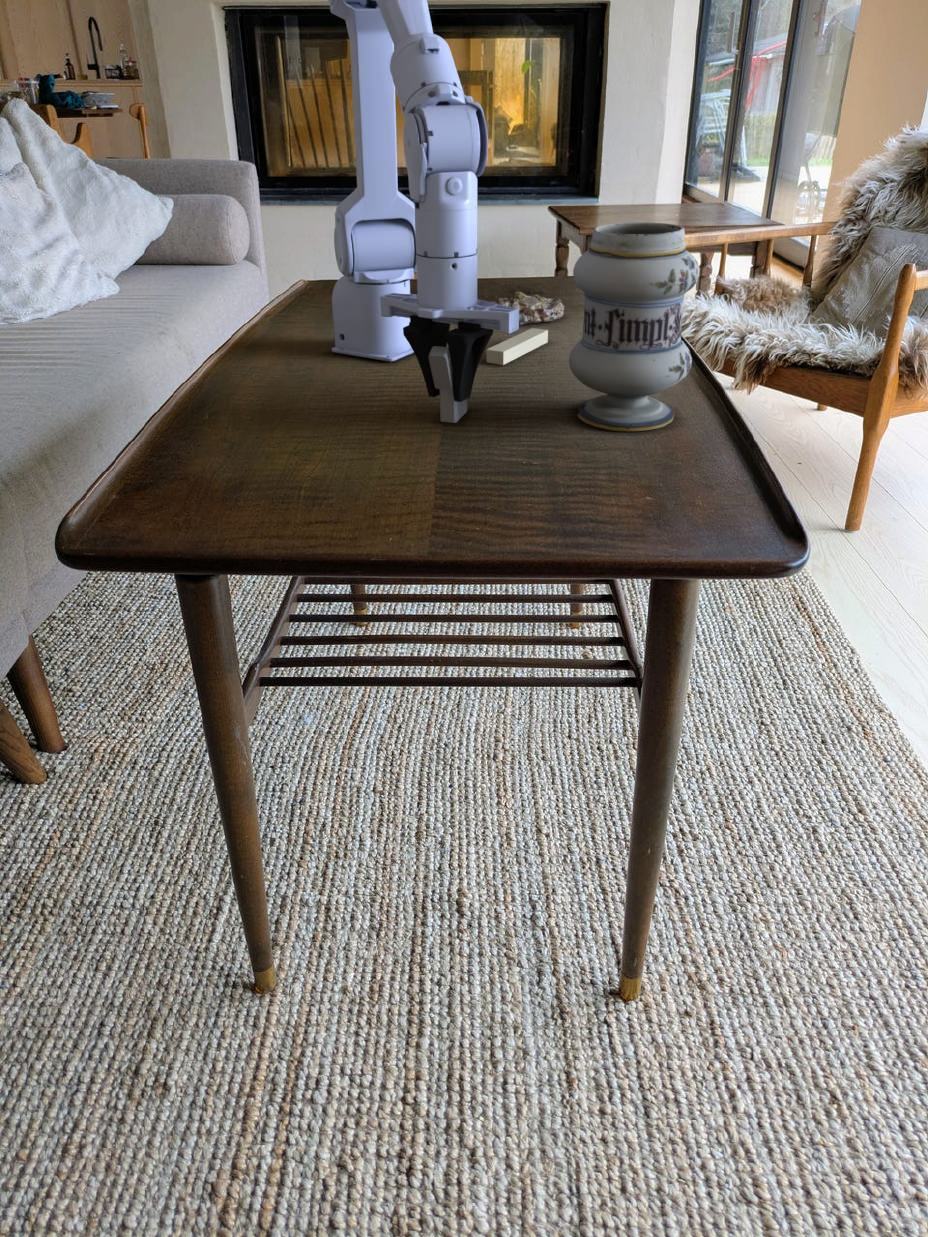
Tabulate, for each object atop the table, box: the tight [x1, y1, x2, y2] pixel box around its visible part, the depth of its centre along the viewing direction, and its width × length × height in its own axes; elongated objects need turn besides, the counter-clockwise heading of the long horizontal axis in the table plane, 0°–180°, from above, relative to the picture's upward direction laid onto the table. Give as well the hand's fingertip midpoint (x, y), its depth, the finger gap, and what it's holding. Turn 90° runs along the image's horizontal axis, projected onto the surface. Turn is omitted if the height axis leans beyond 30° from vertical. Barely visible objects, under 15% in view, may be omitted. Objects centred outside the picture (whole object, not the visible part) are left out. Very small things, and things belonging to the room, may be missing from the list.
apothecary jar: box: [568, 221, 701, 433], centre depth 88 cm, size 12×12×18 cm
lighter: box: [428, 346, 468, 424], centre depth 90 cm, size 7×2×8 cm, turn 163°
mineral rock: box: [490, 291, 565, 326], centre depth 128 cm, size 11×4×8 cm
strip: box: [485, 327, 549, 366], centre depth 113 cm, size 2×12×2 cm, turn 149°
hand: (449, 396), depth 91 cm, fingers closed on lighter, 2 cm apart
